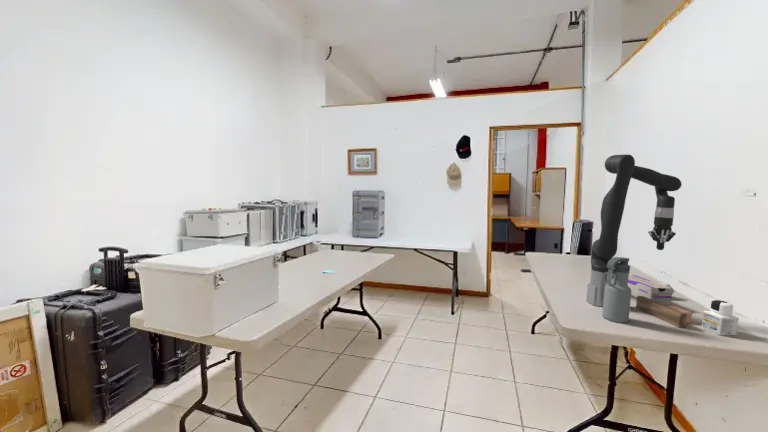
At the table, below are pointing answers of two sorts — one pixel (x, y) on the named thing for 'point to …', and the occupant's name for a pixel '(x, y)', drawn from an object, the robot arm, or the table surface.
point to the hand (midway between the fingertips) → (659, 249)
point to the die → (667, 286)
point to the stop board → (662, 311)
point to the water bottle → (617, 291)
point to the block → (689, 314)
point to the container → (720, 319)
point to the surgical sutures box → (649, 290)
